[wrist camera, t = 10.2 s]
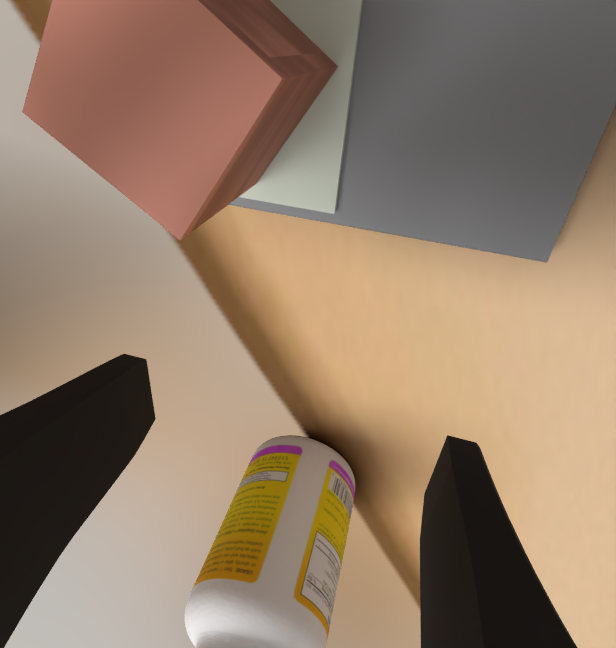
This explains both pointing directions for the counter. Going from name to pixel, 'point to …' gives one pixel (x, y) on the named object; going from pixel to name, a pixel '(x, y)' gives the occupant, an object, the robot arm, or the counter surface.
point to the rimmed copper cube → (174, 96)
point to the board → (448, 119)
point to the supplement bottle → (276, 552)
